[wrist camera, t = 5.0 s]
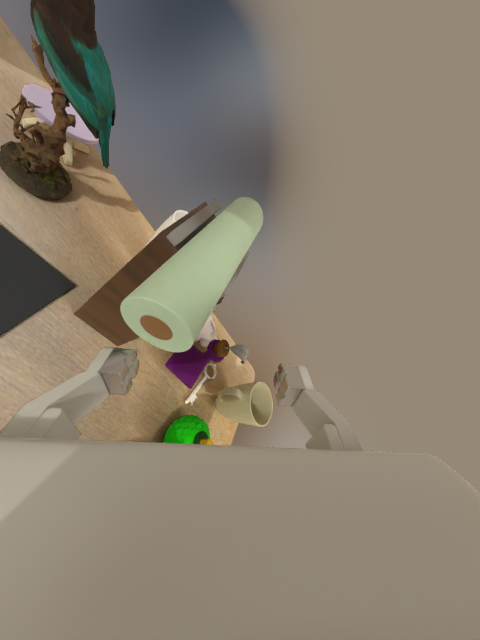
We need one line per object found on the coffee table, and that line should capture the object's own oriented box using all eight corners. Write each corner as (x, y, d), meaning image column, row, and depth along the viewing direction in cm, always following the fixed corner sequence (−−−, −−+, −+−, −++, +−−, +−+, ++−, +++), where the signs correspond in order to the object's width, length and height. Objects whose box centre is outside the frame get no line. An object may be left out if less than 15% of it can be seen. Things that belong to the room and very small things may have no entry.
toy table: (18, 143, 30) (25, 114, 27) (12, 91, 31) (18, 56, 28) (93, 178, 38) (105, 159, 35) (87, 136, 39) (99, 114, 36)
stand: (117, 346, 34) (230, 299, 19) (73, 314, 30) (169, 223, 15) (148, 312, 40) (252, 256, 25) (115, 282, 36) (213, 194, 21)
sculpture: (2, 115, 29) (25, -165, 15) (94, 201, 37) (169, 71, 22) (-63, 122, 24) (-121, -292, 10) (60, 221, 32) (128, 68, 17)
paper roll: (163, 357, 13) (207, 346, 11) (106, 311, 11) (144, 284, 9) (241, 241, 26) (270, 224, 24) (221, 210, 24) (250, 188, 22)
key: (217, 371, 51) (209, 358, 50) (220, 370, 50) (212, 358, 49) (189, 410, 42) (178, 395, 40) (192, 410, 41) (181, 395, 40)
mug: (228, 376, 54) (266, 372, 47) (237, 413, 53) (276, 415, 46) (198, 390, 45) (239, 387, 38) (207, 434, 44) (251, 440, 37)
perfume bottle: (155, 366, 38) (222, 352, 28) (177, 340, 44) (239, 320, 33) (180, 390, 41) (249, 385, 31) (198, 362, 47) (261, 350, 36)
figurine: (176, 291, 47) (212, 270, 40) (213, 334, 53) (251, 323, 46) (155, 311, 41) (193, 291, 34) (199, 357, 47) (240, 349, 40)
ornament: (145, 439, 34) (180, 446, 28) (179, 405, 40) (213, 405, 34) (167, 474, 35) (205, 488, 29) (197, 436, 41) (232, 441, 36)
